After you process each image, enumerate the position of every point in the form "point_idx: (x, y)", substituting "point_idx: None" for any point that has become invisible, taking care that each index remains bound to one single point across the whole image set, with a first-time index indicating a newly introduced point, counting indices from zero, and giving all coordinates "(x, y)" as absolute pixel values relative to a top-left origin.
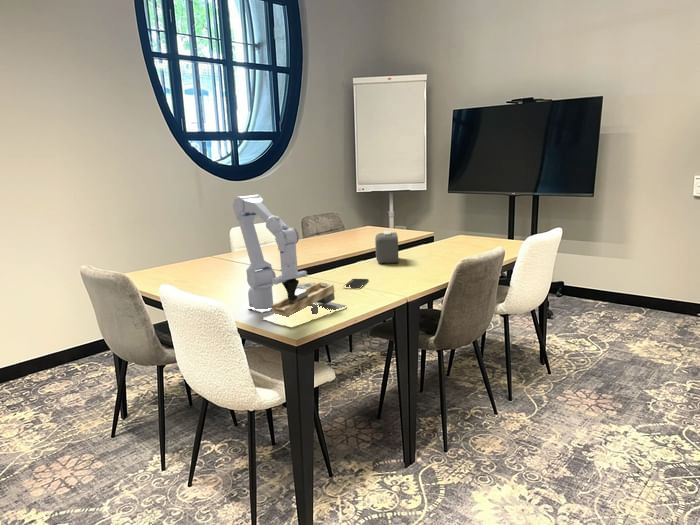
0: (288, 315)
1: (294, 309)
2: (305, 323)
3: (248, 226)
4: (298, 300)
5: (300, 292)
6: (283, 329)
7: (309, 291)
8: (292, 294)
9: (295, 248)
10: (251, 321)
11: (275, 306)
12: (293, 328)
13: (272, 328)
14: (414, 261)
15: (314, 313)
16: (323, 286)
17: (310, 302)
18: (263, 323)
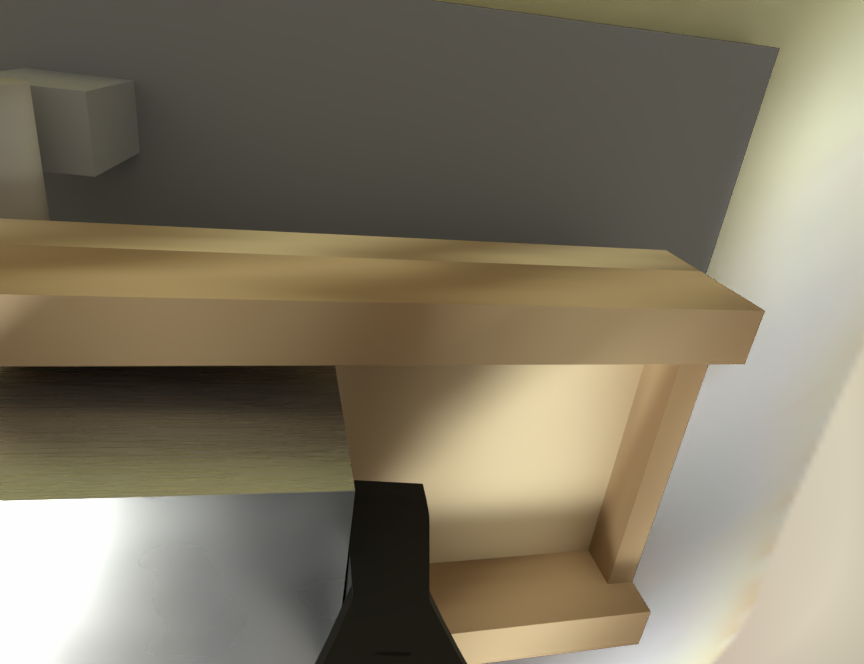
0: (658, 253)
1: (526, 268)
2: (465, 3)
3: None
4: (314, 394)
5: (124, 555)
6: (816, 129)
7: None
8: (428, 589)
9: None
10: (662, 616)
11: (599, 590)
12: (740, 16)
13: (811, 289)
14: None
15: (121, 80)
16: None
17: (29, 237)
18: (678, 492)
